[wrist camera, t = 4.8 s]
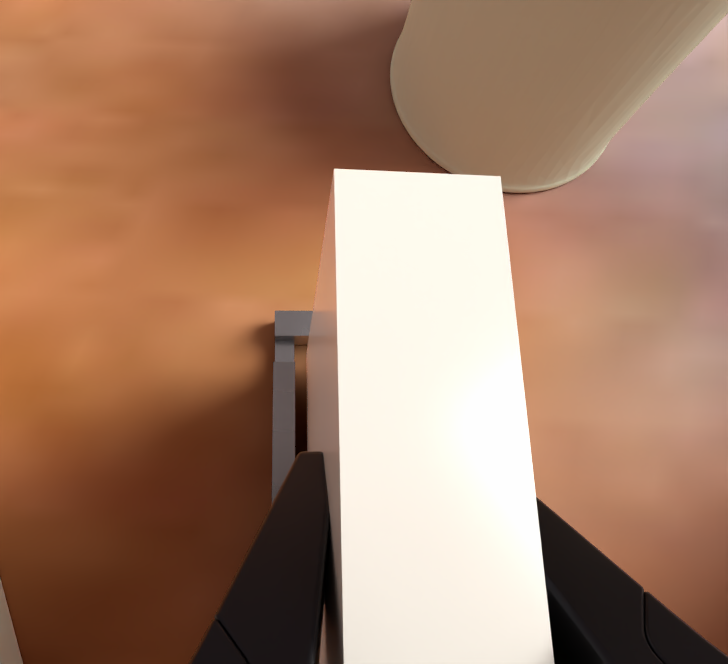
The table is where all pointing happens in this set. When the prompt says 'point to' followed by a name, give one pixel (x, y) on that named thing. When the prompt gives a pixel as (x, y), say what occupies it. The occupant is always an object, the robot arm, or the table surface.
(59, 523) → the table surface
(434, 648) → the white block
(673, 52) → the can
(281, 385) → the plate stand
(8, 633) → the dish rack
